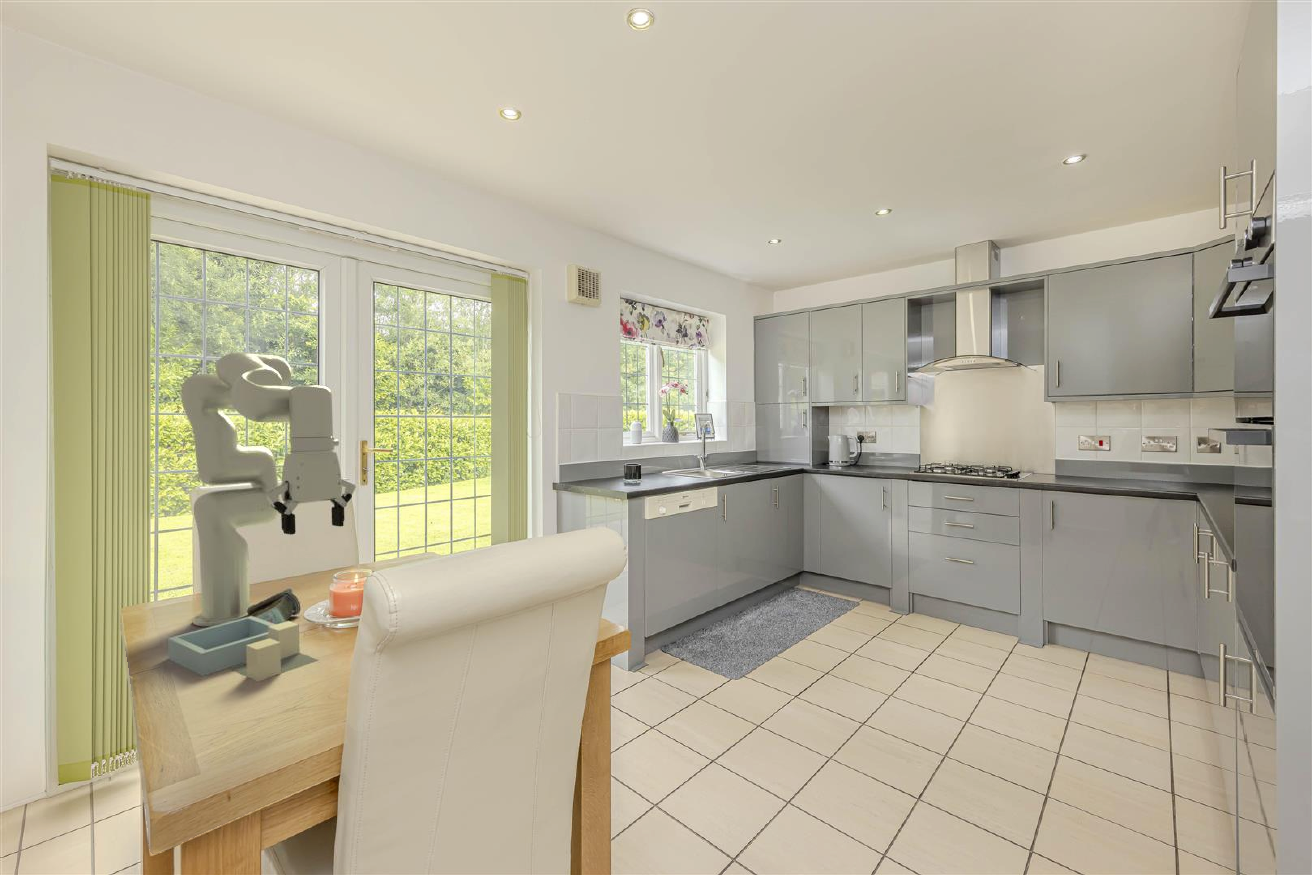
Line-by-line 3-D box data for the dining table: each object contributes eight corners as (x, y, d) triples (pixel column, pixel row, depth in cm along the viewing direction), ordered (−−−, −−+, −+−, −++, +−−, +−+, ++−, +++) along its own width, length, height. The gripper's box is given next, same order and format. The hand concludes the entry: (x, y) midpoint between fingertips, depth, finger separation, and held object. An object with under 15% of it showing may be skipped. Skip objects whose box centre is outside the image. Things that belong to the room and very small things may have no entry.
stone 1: (246, 676, 107) (246, 645, 107) (270, 668, 110) (269, 638, 110) (257, 681, 105) (256, 649, 105) (280, 673, 108) (280, 642, 108)
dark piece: (229, 630, 132) (263, 596, 131) (243, 611, 139) (276, 579, 138) (266, 651, 136) (299, 619, 134) (278, 632, 142) (311, 601, 141)
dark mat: (229, 669, 111) (229, 668, 111) (289, 650, 120) (289, 648, 120) (257, 683, 105) (257, 681, 105) (318, 661, 114) (318, 659, 114)
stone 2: (268, 655, 117) (268, 626, 116) (289, 648, 120) (288, 620, 120) (278, 659, 115) (278, 630, 114) (299, 652, 118) (298, 624, 118)
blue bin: (168, 659, 115) (167, 638, 115) (252, 635, 128) (251, 615, 128) (202, 677, 107) (201, 653, 107) (287, 649, 121) (287, 628, 120)
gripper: (342, 444, 125) (344, 521, 125) (255, 448, 110) (258, 535, 110) (363, 444, 121) (365, 524, 121) (276, 448, 106) (278, 538, 107)
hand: (314, 529), depth 116 cm, fingers open, 9 cm apart
